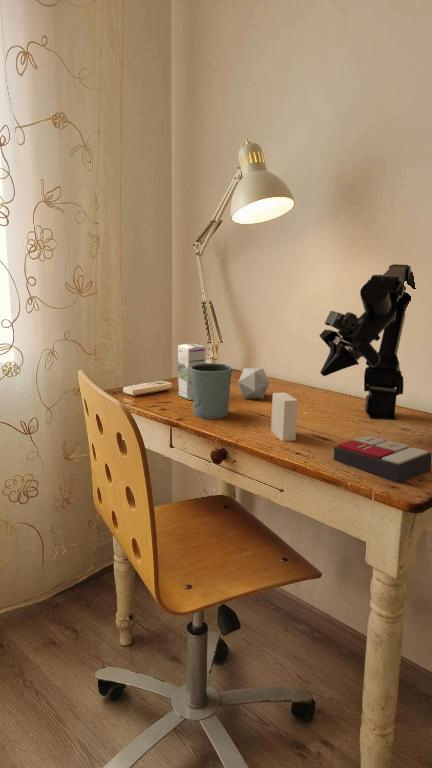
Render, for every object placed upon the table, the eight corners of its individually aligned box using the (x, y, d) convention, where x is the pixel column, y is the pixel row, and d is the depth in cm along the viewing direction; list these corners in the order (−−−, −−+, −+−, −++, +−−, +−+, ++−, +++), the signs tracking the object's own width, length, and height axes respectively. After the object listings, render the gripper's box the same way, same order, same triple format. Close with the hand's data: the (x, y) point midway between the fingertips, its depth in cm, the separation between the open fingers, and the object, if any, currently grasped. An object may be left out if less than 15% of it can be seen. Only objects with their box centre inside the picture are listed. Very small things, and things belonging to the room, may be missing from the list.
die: (258, 405, 155) (278, 374, 156) (230, 387, 156) (250, 357, 157) (256, 408, 164) (274, 379, 165) (229, 391, 164) (248, 362, 165)
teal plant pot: (238, 414, 144) (240, 367, 142) (211, 422, 137) (212, 373, 134) (209, 406, 151) (210, 361, 148) (181, 413, 144) (181, 366, 141)
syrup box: (205, 398, 159) (207, 346, 156) (187, 400, 156) (188, 347, 153) (194, 393, 164) (195, 342, 160) (176, 396, 160) (177, 344, 157)
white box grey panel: (284, 430, 133) (286, 392, 131) (296, 440, 126) (298, 400, 124) (271, 431, 132) (272, 393, 130) (282, 441, 125) (284, 400, 123)
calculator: (366, 433, 121) (432, 449, 110) (365, 453, 122) (431, 470, 111) (333, 443, 114) (400, 461, 103) (332, 464, 115) (398, 484, 104)
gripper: (329, 294, 134) (283, 342, 134) (372, 302, 117) (318, 357, 117) (357, 327, 138) (312, 374, 138) (402, 340, 121) (350, 393, 120)
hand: (322, 374), depth 128 cm, fingers closed
